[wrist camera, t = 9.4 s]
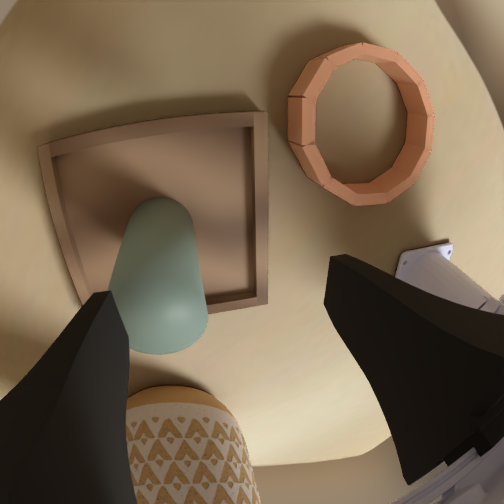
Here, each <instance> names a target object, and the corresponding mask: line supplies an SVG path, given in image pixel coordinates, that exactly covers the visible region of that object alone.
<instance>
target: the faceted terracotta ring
mask: <svg viewBox="0 0 504 504" xmlns="http://www.w3.org/2000/svg"><path fill="white" fill-rule="evenodd" d="M353 59H358V60H363V61H368V62H372V63H376V64H377V65H378V66H379V67H380V68H381V69H382V70H383V71H384V72H385V73H386V74H387V75H389V76H390V77H391V78H392V79H393V80H394V81H395V82H396V83H397V85H398V87H399V90H400V93H401V95H402V98H403V101H404V104H405V106H406V109H407V112H408V113H407V128H406V141H405V144H404V146H403V148H402V150H401V151H400V153H399V155H398V157H397V159H396V161H395V162H394V164H393V166H392V168H390V169H389V170H387V171H386V172H384V173H383V174H381V175H380V176H379V177H377V178H376V179H374V180H373V181H371V182H370V183H357V184H342V183H340V182H339V181H337V180H335V179H334V178H332V177H331V175H330V172H329V170H328V168H327V166H326V164H325V162H324V160H323V158H322V156H321V154H320V152H319V150H318V148H317V146H316V144H315V120H316V100H317V98H318V96H319V94H320V93H321V91H322V89H323V88H324V86H325V84H326V82H327V81H328V79H329V77H330V76H331V74H332V72H333V70H334V69H335V68H336V67H338V66H340V65H342V64H344V63H347V62H349V61H351V60H353ZM422 79H423V78H422V77H421V76H420V75H419V74H418V73H417V72H416V70H415V69H414V68H413V67H412V66H411V65H410V64H409V63H408V62H407V61H406V60H405V59H404V58H403V57H402V56H401V55H400V54H399V53H397V51H393V50H390V49H387V48H383V47H380V46H376V45H372V44H368V43H364V42H360V43H355V44H350V45H345V46H341V47H339V48H336V49H334V50H332V51H329V52H327V53H325V54H322V55H320V56H318V57H316V58H314V59H311V60H310V61H308V63H307V65H306V66H305V68H304V70H303V71H302V73H301V75H300V76H299V78H298V80H297V81H296V83H295V85H294V86H293V88H292V90H291V92H290V93H289V95H288V96H290V97H291V98H288V140H290V141H289V144H290V146H291V148H292V150H293V151H294V153H295V155H296V157H297V159H298V161H299V162H300V164H301V166H302V168H303V170H304V172H305V174H306V176H307V177H308V178H310V179H311V180H313V181H314V182H316V183H317V184H319V185H320V186H322V187H323V188H325V189H327V190H328V191H330V192H332V193H334V194H335V195H337V196H339V197H340V198H342V199H343V200H345V201H347V202H348V203H350V204H352V205H353V206H362V205H375V204H387V203H389V202H390V201H392V200H393V199H394V198H396V197H397V196H399V195H400V194H401V193H403V192H404V191H405V190H407V189H408V188H409V187H411V186H412V185H414V183H415V182H416V180H417V178H418V177H419V175H420V173H421V171H422V169H423V167H424V165H425V164H426V162H427V160H428V158H429V156H430V154H431V153H430V151H432V142H433V131H434V118H435V116H433V115H434V111H433V108H432V104H431V101H430V98H429V95H428V92H427V89H426V86H425V83H424V80H422Z"/></svg>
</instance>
